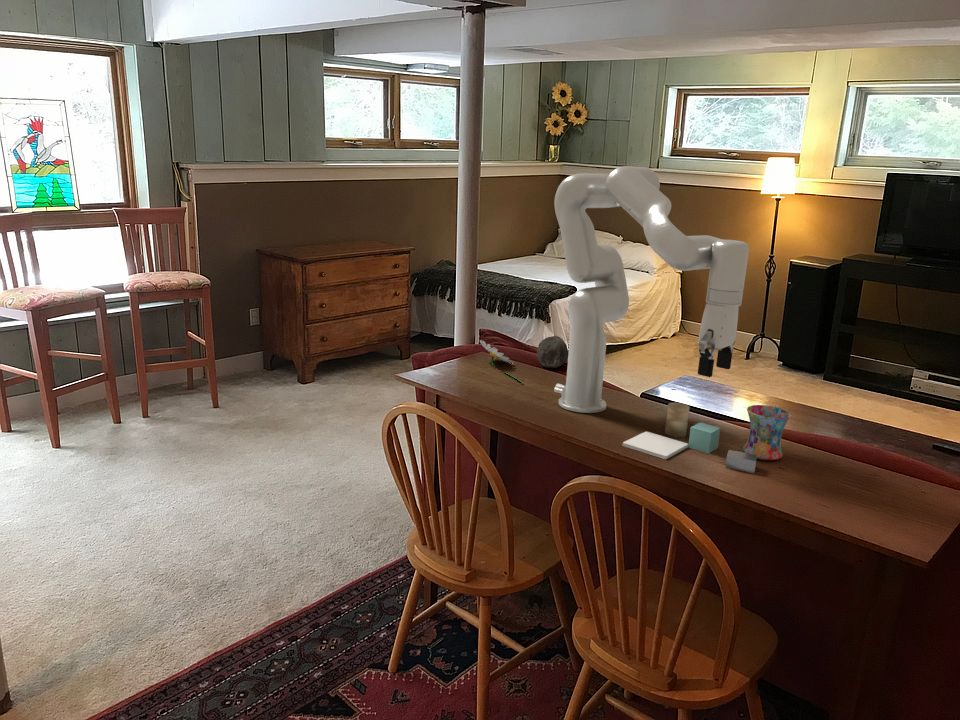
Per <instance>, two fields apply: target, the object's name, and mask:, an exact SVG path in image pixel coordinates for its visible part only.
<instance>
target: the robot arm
mask: <svg viewBox="0 0 960 720" xmlns="http://www.w3.org/2000/svg"><path fill="white" fill-rule="evenodd" d="M660 184H661V183H660V179H659V176H658V175H657V173H656V172H655V171H654V170H653V169H651V168H649V167H646V166H631V165H624V166H622V165H621V166H619V167H617V168H615V169H613V170H612V171H611V172H610V173H609V174H608V173H590V172H589V173H585V172H583V173H575V174H571V175H569V176H567V177H566V178H564V179H563V180H562V181H561V183H560V184H559V185H558V187H557V189H556V193H555V196H554V205H553V206H554V212H555V216H556V219H557V222H558V225H559V229H560V234H561V242H562V248H563V251H564V252H563V253H564V259H565V264H566V269H567V273H568V275H569V278H570V279H571V280H572V281H574V282H575V283H580V284H584V283H585V284H586V283H594V285H595V286H591V287H590V286H589V287H585V288H581V289H579V290H577V291H575V293H573V294H572V296H571V297H570V299H569V302H568V306H567V308H568V309H567V310H568V321H569V339H568V340H569V341H568V357H567V370H566V379H565V381H566V382H565V385H564V384H562V383H556V384H555V387H554V389H553V391H554V392H555V393H557V394H561V397H560V398H559V399H558V405H559V407H561V408H562V409H564V410H567V411H571V412H575V413H580V414H581V413H582V414H584V413H585V414H595V413H601V412H603V411H605V410H606V409H607V405H608V404H607V402H606V401H605V400H604V399H602V393H603V392H602V391H603V382H604V371H605V362H606V352H607V351H606V350H607V337H606V333H605V329H604V323H611V322H616V321H619V320H621V319H623V318H624V317H625V316H626V315H627V313H628V311H629V307H630V297H629V296H630V295H629V290H628V285H627V279H626V274H625V273H626V272H625V267H624V263H623V260H622V257H621V255H620V253H619V251H618V250H617V249H616V248H614V247H613V246H612V245H609V244H598V241H597V236H596V231H595V226H594V224H593V221H592V220H591V218H590V216H589V215H588V213H587V212H586V210H587V209H608V208H609V209H610V208H617V207H621V208H622V209H623V210H624V211H625V212H627V213H628V214H629V216H630V217H632V218H633V219H634V220H635V221H636V222H637V223H638V224H639V225H640V226H641V227H642V228H643V232H644V236H645V238H646V242H647V243H648V245H649V247H650V248H651V249H652V250H653V252H654V253H656V254H657V255H658V256H659V257H660V258H661V259H662V260H663V261H664V262H665V263H666V264H668V265H669V266H670V267H671V268H673V269H675V270H677V271H681V272H682V271H683V272H686V271H687V272H688V271H694V270H699V271H700V270H708V269H709V272H708V273H709V274H708V279H707V280H708V281H707V289H706V298H705V303H706V304H705V307H704V310H703V314H702V318H701V322H700V328H699V335H698V342H697V345H698V346H699V349H698V352H699V355H698V357H699V361H698V367H697V374H698V375H699V376H702V377H707V378H712V377H713V373H714V367H715V366H716V368H720V369H724V370H730V369H731V368H732V366H731V365H732V359H733V352H734V349H735V348H734V344H735V343H736V337H737V333H738V323H739V321H738V320H739V307H741V306H742V303H743V302H742V301H743V294H744V288H745V281H746V273H747V268H748V267H747V266H748V260H749V254H750V253H749V252H750V247H749V244H748V243H747V242H745V241H742V240H735V239H722V238H719V237H715V236H712V235H707V234H705V235H704V234H703V235H701V234H700V235H685V234H684V233H683V232H682V231H681V230H679V228H677V227H676V226H675V225H674V224H673V223H672V222H671V220H670V219H669V217H668V216H669V215H670V213H671V209H672V202H671V200H670V199H669V198H668V197H667V196H666V195H665V194H663V192H662V191H661V190H660V186H661V185H660ZM716 352H717V357H716V364H715V359H714V357H715V355H716ZM714 364H715V366H714Z"/></svg>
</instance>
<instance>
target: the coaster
mask: <svg viewBox="0 0 960 720" xmlns="http://www.w3.org/2000/svg"><path fill="white" fill-rule="evenodd" d="M688 445H689V443H687V442H683V441H681V440H677V439H673V438H671V437H670V438H669V437H666V436H663V435H660V434H656V433H653V432H650V431H644V432H641V433H639V434H637V435H635V436H633V437H631V438H629V439H627V440H624V441H623V442H622V444H621V446H622V447H624V448H628V449H630V450H631V449H632V450H634V451H637V452H640V453H644V454H647V455H650V456H654V457H657V458H660V459H663V460H667V459H669V458H671V457H673V456H675V455H677V454H678V453H680V452H682V451H684V450H686V449H688V448H689V447H688Z"/></svg>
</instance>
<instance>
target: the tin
mask: <svg viewBox="0 0 960 720" xmlns="http://www.w3.org/2000/svg"><path fill="white" fill-rule="evenodd" d="M757 460H758V458H757V455H754V454H749V453H745V452H744V451H743V452H742V451H739V450H738V451H736V450H732V449H728V452H727V455H726V458H725V467H724V468H725V469H729V470H735V471H739V472H744V471H745V472H746V473H751V474H755V471H756V468H757V467H756V466H757Z"/></svg>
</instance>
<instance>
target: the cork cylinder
mask: <svg viewBox="0 0 960 720" xmlns="http://www.w3.org/2000/svg"><path fill="white" fill-rule="evenodd" d="M666 412H667V413H666V419H665V429H664V433H665V434H666V433H667V434H666V435H668V434H669V435H668V436H670V435H671V437H674V436H676V438H681V437H682V436H683V437H685V436H687V429H688V424H689V423H688V421H689V415H690V414H689V413H690V406H689V405H688V404H685V403H683V402H682V403H681V402H669V403H668V405H667V411H666ZM683 437H682V438H683Z"/></svg>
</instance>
